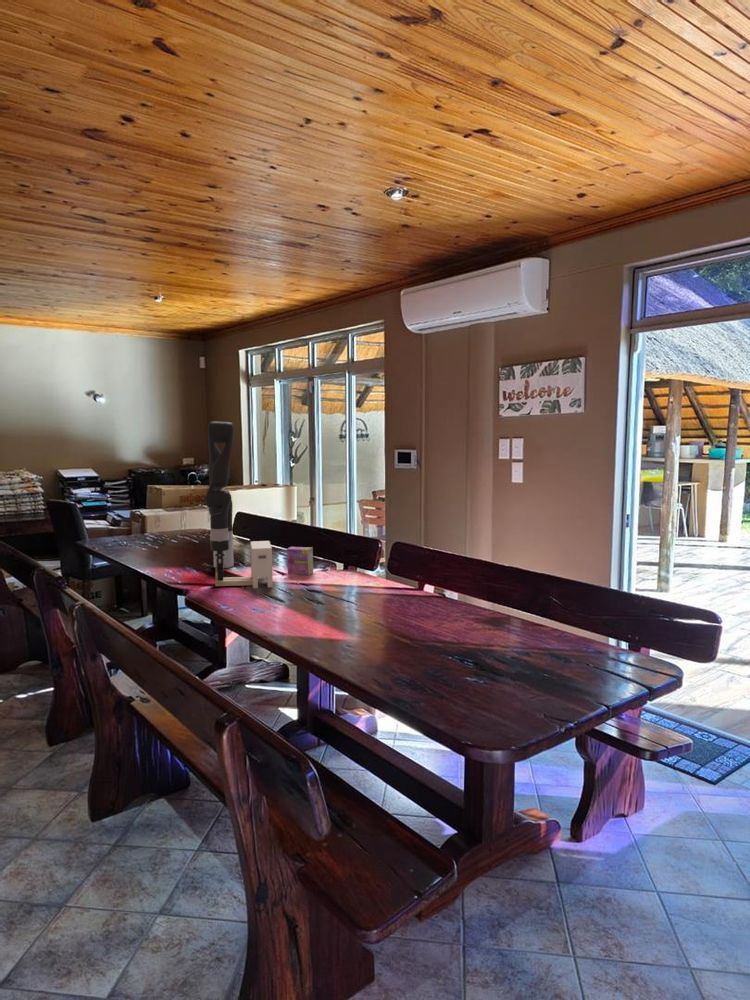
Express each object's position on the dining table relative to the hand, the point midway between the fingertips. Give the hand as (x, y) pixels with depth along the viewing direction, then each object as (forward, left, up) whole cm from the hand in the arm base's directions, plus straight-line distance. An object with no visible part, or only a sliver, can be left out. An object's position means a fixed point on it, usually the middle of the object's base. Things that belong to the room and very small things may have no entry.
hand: (220, 579), depth 268 cm
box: (-14, +35, -3) cm, 38 cm away
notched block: (0, +17, -3) cm, 17 cm away
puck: (0, +17, -3) cm, 18 cm away
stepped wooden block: (0, +6, -2) cm, 7 cm away
